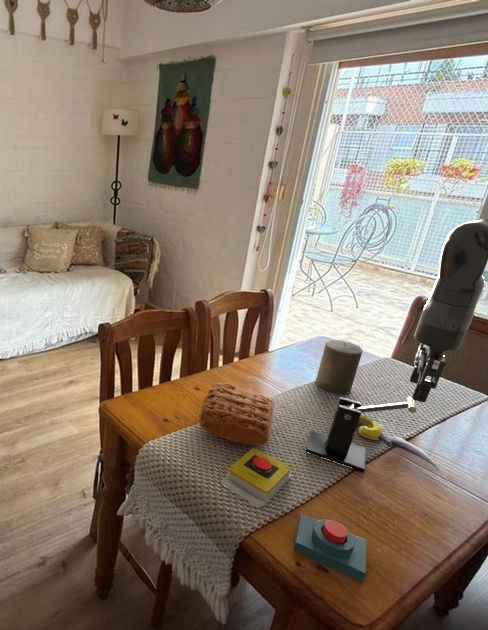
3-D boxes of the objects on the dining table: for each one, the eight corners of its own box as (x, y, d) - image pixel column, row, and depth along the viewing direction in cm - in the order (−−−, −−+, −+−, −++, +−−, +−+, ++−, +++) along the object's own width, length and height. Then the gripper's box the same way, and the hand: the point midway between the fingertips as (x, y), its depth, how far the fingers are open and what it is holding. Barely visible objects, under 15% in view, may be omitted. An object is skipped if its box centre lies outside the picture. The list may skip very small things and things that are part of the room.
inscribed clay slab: (263, 463, 102) (270, 435, 99) (190, 439, 110) (194, 412, 107) (274, 415, 120) (280, 390, 117) (211, 397, 128) (215, 373, 125)
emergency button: (296, 461, 97) (264, 493, 88) (292, 476, 99) (260, 510, 90) (257, 439, 104) (222, 468, 94) (253, 454, 105) (219, 484, 96)
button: (345, 533, 81) (347, 526, 80) (344, 547, 78) (346, 540, 77) (323, 524, 82) (325, 517, 82) (321, 537, 80) (323, 530, 79)
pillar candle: (350, 398, 129) (364, 352, 124) (313, 388, 134) (325, 344, 128) (350, 383, 137) (364, 340, 131) (315, 374, 142) (327, 332, 136)
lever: (416, 403, 96) (412, 393, 96) (418, 414, 92) (414, 404, 92) (344, 411, 105) (340, 402, 105) (342, 421, 101) (339, 412, 101)
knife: (448, 466, 103) (343, 411, 123) (453, 457, 102) (345, 403, 122) (433, 478, 99) (326, 419, 119) (437, 469, 98) (329, 411, 118)
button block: (363, 548, 82) (369, 533, 80) (362, 582, 76) (369, 566, 74) (299, 521, 87) (303, 506, 86) (293, 550, 81) (298, 535, 80)
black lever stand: (364, 451, 107) (381, 404, 102) (363, 473, 100) (381, 423, 95) (309, 433, 113) (323, 388, 108) (305, 453, 106) (319, 405, 101)
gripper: (474, 339, 80) (442, 413, 86) (462, 315, 91) (435, 382, 97) (423, 329, 83) (396, 400, 90) (418, 306, 94) (394, 372, 101)
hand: (416, 391), depth 93 cm, fingers open, 8 cm apart
